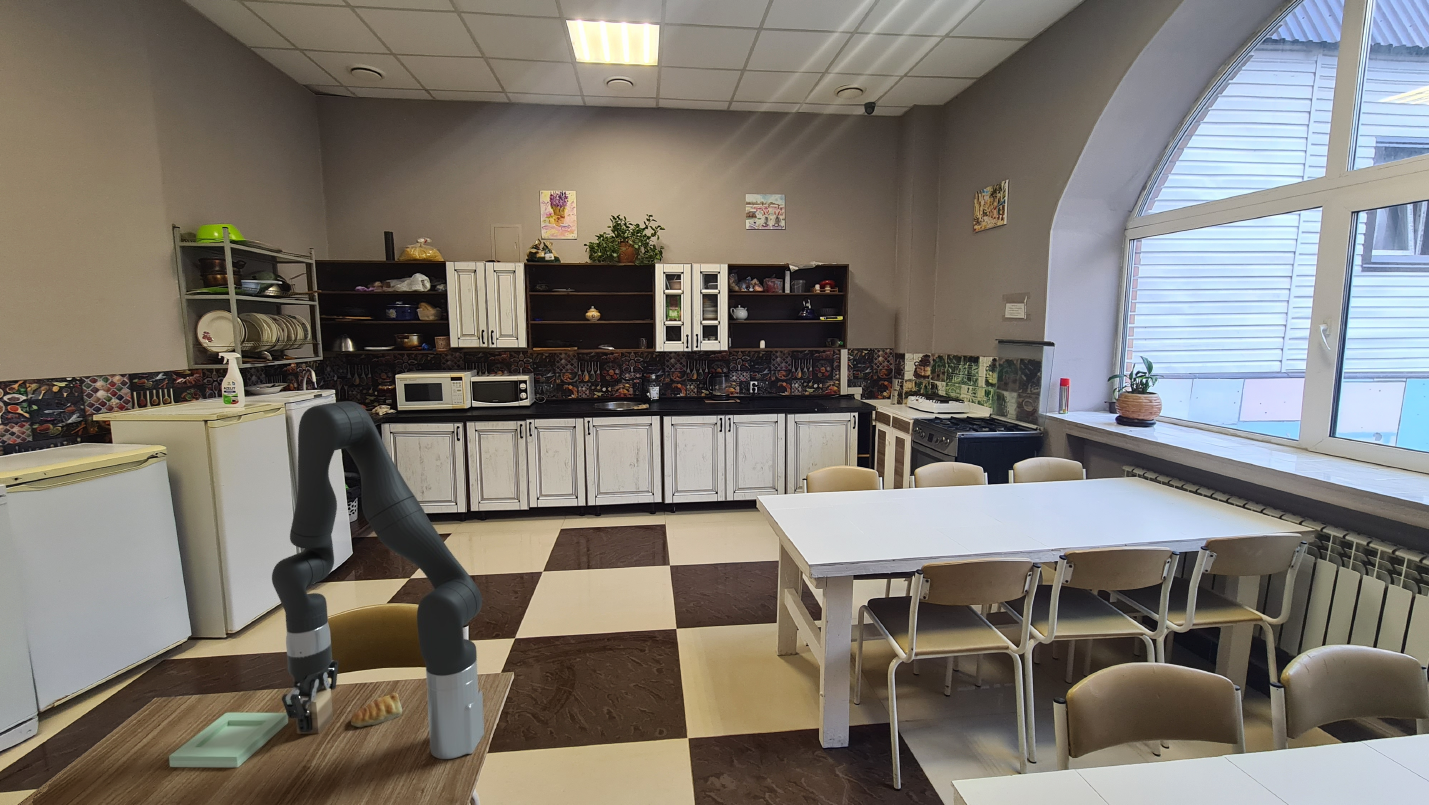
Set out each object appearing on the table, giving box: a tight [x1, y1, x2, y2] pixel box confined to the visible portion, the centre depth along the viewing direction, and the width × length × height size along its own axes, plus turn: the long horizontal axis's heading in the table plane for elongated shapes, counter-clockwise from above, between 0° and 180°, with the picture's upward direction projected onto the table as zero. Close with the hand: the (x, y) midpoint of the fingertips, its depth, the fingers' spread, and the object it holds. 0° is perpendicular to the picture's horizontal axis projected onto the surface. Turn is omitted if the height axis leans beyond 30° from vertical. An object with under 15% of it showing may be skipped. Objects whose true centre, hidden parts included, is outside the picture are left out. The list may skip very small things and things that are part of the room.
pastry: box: [350, 692, 403, 728], centre depth 125 cm, size 9×7×4 cm
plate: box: [168, 712, 289, 768], centre depth 117 cm, size 13×13×2 cm
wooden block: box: [295, 689, 334, 735], centre depth 122 cm, size 4×4×7 cm
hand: (315, 722), depth 122 cm, fingers open, 4 cm apart
